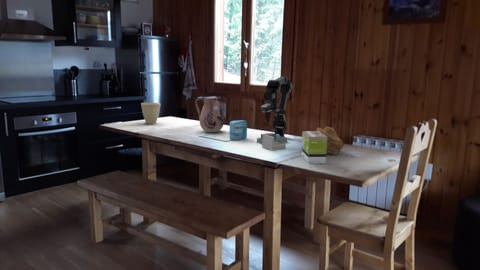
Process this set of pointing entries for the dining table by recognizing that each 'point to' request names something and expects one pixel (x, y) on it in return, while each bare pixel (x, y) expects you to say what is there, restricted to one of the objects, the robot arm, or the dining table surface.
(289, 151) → the dining table surface
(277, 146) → the grey block
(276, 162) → the dining table surface
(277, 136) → the caddy
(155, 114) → the plant pot
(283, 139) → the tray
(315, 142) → the tea box
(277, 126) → the robot arm
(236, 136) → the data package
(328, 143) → the rough brown rock
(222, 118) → the ceramic pitcher
